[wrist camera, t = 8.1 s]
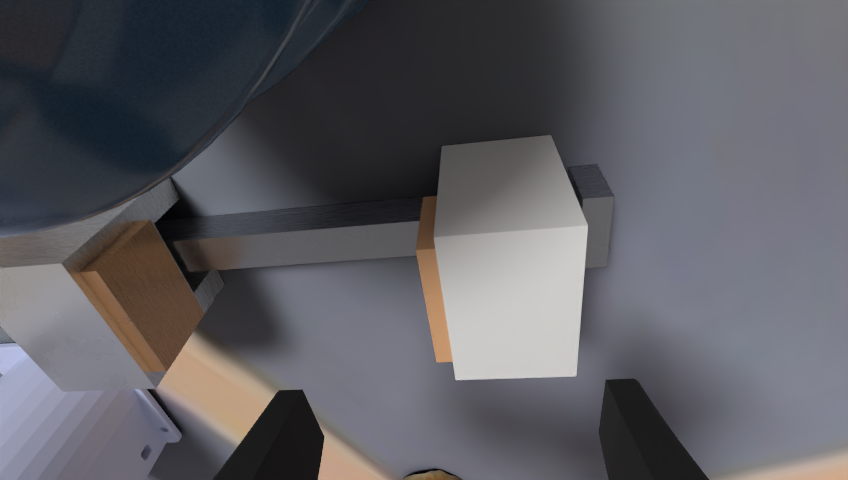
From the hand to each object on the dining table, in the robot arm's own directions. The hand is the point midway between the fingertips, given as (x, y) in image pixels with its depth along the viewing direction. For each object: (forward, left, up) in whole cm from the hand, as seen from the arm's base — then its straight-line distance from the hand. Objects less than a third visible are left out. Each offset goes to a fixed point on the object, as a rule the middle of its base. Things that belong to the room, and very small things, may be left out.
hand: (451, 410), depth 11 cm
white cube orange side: (0, -2, -9) cm, 9 cm away
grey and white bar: (0, +6, -9) cm, 11 cm away
